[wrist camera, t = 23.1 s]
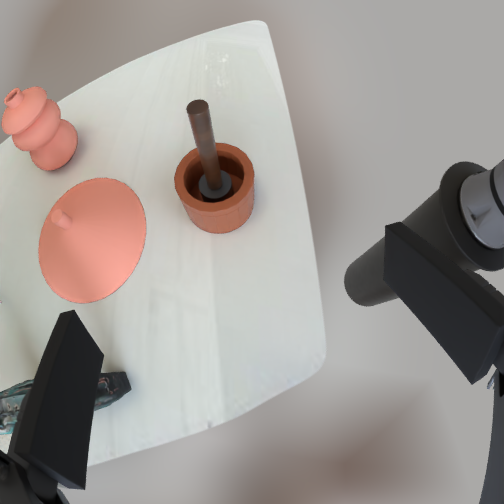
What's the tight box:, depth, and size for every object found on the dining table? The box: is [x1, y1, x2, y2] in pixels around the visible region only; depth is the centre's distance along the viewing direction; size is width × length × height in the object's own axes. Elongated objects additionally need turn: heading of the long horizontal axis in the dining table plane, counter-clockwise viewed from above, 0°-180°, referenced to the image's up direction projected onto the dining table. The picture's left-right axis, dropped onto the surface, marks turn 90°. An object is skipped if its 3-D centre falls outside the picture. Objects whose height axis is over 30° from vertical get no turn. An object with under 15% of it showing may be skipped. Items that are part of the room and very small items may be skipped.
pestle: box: [187, 100, 234, 203], centre depth 35 cm, size 4×4×20 cm
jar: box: [174, 143, 254, 233], centre depth 41 cm, size 10×10×8 cm
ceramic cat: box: [0, 372, 131, 435], centre depth 28 cm, size 20×6×20 cm, turn 112°
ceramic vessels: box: [2, 87, 146, 303], centre depth 36 cm, size 35×21×19 cm, turn 31°
